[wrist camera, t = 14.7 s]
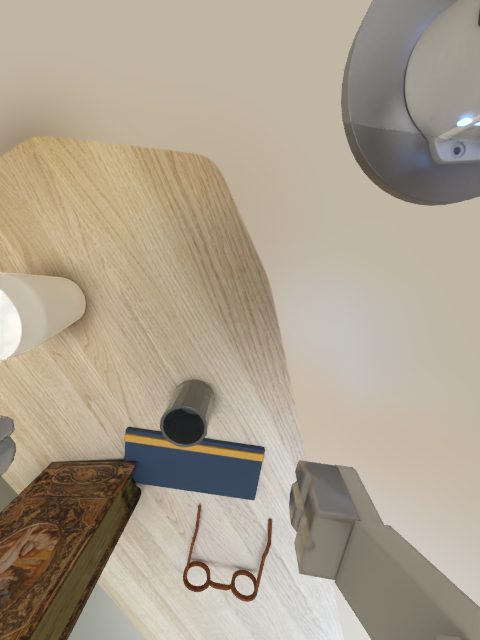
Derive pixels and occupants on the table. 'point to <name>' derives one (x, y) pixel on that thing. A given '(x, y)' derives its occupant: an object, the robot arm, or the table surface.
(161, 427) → the grey tumbler
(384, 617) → the robot arm
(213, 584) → the glasses
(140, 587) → the table surface
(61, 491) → the book
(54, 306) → the cup
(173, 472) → the towel
